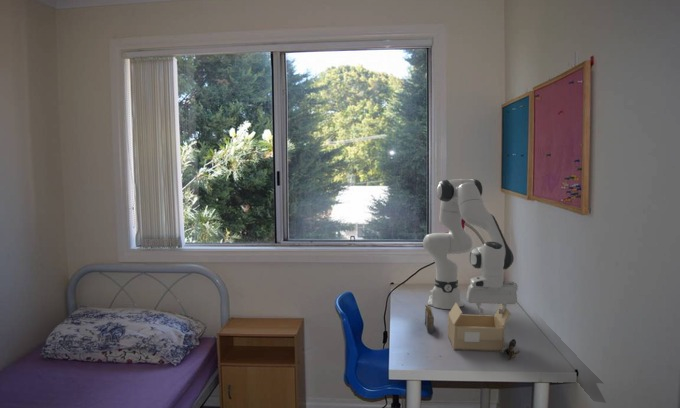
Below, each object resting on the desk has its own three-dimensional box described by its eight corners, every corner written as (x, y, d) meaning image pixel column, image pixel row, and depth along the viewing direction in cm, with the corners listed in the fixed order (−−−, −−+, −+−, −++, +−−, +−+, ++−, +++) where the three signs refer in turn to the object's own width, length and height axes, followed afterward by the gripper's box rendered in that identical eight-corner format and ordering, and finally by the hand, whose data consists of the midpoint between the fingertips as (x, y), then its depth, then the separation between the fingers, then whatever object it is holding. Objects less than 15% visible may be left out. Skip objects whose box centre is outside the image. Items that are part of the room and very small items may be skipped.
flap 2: (494, 315, 208) (501, 303, 208) (495, 315, 208) (502, 303, 208) (503, 325, 195) (509, 313, 195) (504, 326, 195) (511, 313, 195)
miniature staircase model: (424, 324, 227) (424, 304, 226) (430, 324, 227) (431, 304, 226) (426, 333, 216) (427, 312, 215) (433, 333, 216) (433, 312, 215)
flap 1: (448, 313, 210) (455, 302, 209) (449, 314, 210) (456, 303, 209) (453, 324, 197) (461, 312, 196) (454, 325, 197) (462, 313, 196)
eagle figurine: (524, 359, 186) (520, 346, 195) (515, 345, 185) (511, 332, 193) (506, 367, 188) (503, 353, 197) (497, 353, 187) (494, 340, 196)
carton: (447, 335, 212) (448, 313, 211) (493, 337, 211) (494, 315, 210) (454, 350, 196) (455, 327, 195) (503, 352, 195) (504, 328, 194)
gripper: (515, 279, 202) (514, 311, 204) (466, 278, 204) (465, 310, 205) (520, 283, 196) (518, 316, 198) (469, 282, 198) (468, 315, 199)
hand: (491, 313), depth 201 cm, fingers open, 7 cm apart
